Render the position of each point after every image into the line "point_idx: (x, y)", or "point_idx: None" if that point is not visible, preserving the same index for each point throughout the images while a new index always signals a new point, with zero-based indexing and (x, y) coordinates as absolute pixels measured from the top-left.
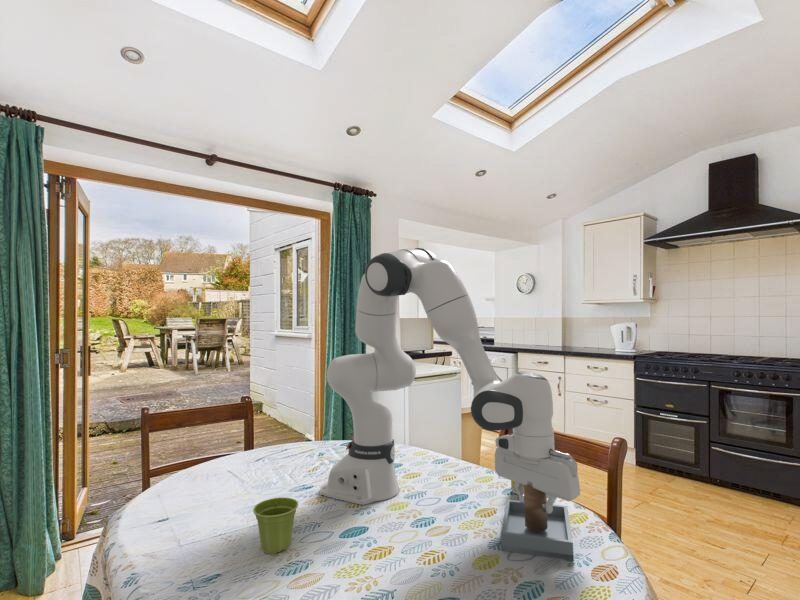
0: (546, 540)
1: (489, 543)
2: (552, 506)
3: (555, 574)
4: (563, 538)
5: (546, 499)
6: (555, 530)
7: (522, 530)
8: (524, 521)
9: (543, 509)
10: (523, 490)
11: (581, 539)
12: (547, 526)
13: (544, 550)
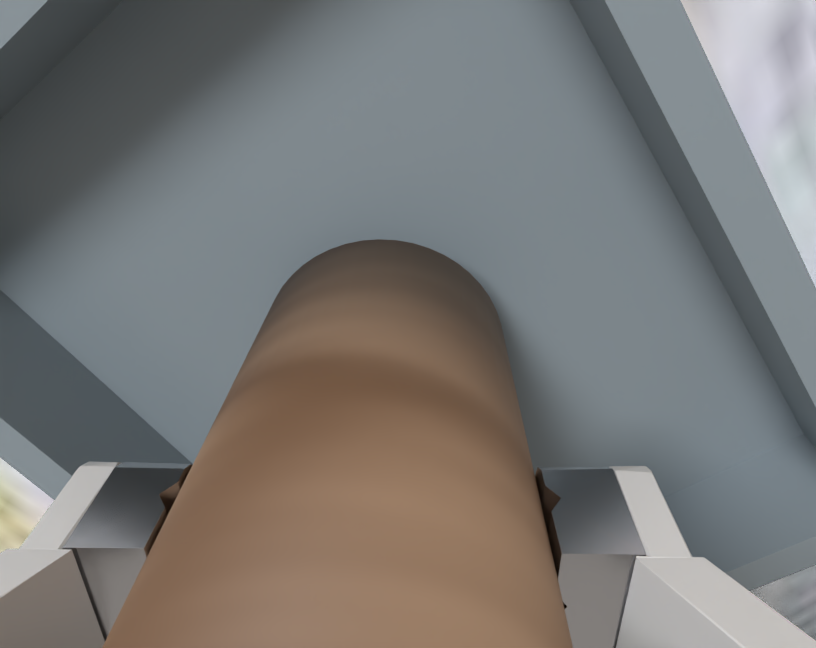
0: None
1: None
2: (671, 521)
3: (769, 600)
4: (673, 270)
5: (554, 573)
6: (526, 185)
7: None
8: (185, 274)
9: None
10: (22, 622)
11: (780, 22)
12: (492, 306)
13: None
